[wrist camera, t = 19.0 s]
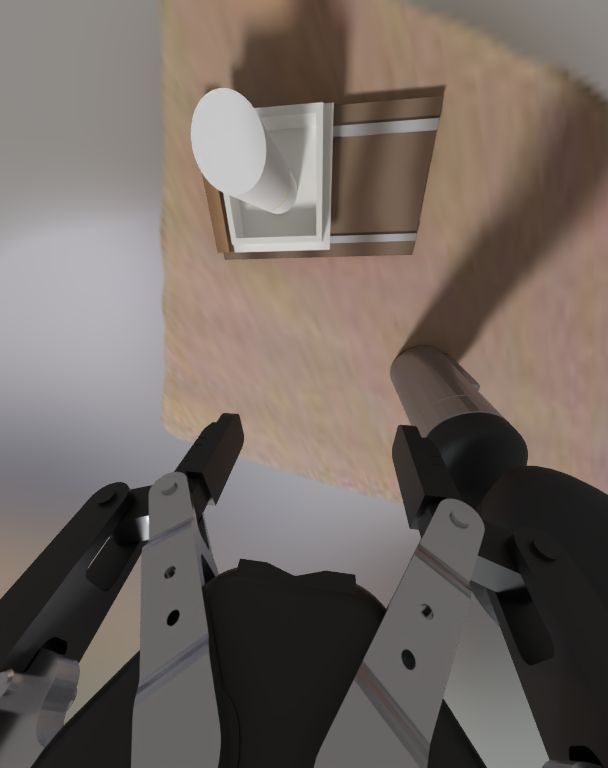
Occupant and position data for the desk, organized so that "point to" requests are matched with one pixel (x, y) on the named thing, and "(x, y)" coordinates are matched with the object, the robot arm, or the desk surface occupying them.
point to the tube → (240, 152)
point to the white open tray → (313, 178)
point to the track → (365, 181)
